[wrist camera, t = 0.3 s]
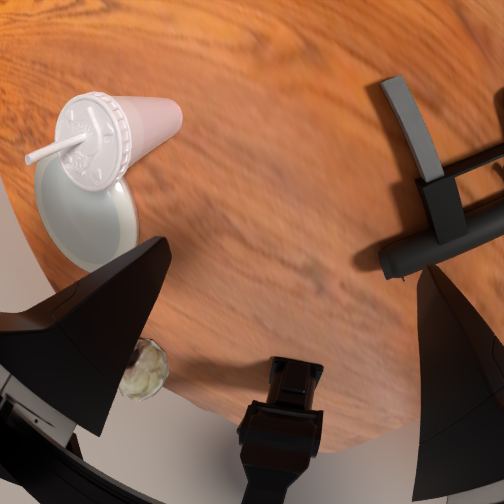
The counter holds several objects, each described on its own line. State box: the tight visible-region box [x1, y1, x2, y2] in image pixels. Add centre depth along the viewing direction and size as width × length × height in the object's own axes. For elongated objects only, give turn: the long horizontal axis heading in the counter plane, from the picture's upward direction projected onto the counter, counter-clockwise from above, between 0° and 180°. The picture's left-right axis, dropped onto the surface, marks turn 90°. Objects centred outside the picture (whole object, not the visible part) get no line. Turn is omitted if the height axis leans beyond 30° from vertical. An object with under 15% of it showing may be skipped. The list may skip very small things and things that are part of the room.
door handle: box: [378, 75, 504, 281], centre depth 16 cm, size 3×20×16 cm
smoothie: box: [25, 92, 183, 192], centre depth 16 cm, size 6×6×14 cm
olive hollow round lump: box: [118, 338, 169, 401], centre depth 38 cm, size 9×8×10 cm
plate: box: [34, 142, 139, 273], centre depth 29 cm, size 18×18×1 cm
